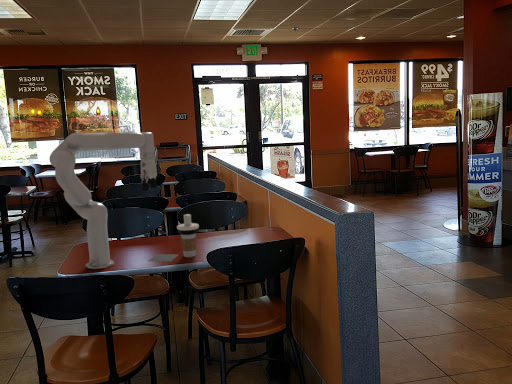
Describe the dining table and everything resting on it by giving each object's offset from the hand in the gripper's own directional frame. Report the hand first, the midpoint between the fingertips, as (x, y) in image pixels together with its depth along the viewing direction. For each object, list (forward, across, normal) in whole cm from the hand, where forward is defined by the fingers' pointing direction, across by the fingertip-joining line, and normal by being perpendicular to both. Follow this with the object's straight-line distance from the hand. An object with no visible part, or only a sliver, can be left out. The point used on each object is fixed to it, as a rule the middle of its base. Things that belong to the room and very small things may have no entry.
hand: (149, 188), depth 247 cm
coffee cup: (+34, -6, -22) cm, 41 cm away
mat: (+34, -11, -10) cm, 37 cm away
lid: (+19, -6, -22) cm, 30 cm away
